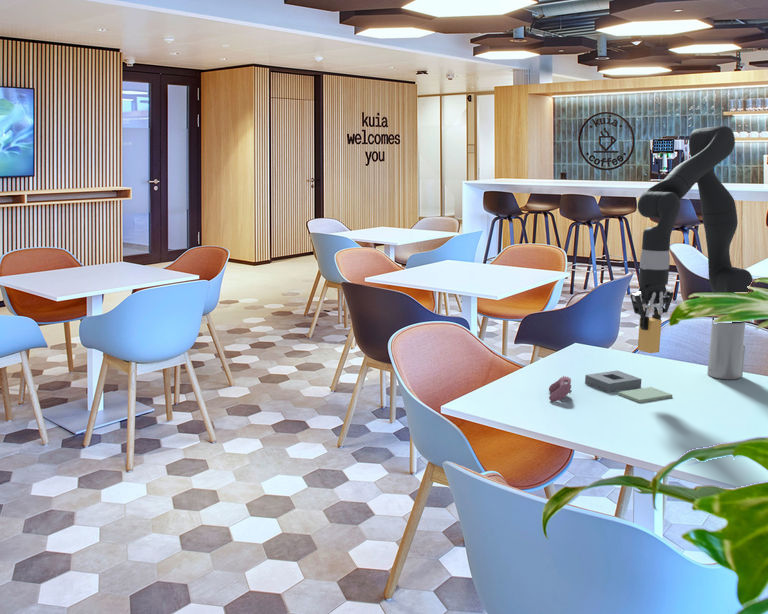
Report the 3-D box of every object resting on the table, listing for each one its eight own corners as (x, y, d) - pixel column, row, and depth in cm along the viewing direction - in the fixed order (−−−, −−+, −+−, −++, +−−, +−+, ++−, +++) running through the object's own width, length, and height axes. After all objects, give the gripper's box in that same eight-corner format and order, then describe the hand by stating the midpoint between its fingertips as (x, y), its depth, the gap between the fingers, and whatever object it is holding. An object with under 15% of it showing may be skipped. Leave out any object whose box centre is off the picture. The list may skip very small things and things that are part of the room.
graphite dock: (616, 378, 235) (617, 370, 235) (640, 387, 226) (641, 378, 226) (585, 383, 230) (585, 374, 230) (608, 392, 221) (608, 383, 221)
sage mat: (651, 389, 224) (651, 386, 224) (672, 397, 217) (672, 394, 217) (618, 394, 219) (618, 391, 219) (638, 402, 212) (639, 399, 212)
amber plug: (646, 348, 218) (649, 316, 217) (659, 352, 214) (661, 319, 213) (637, 349, 217) (639, 317, 215) (649, 353, 213) (652, 321, 211)
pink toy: (562, 408, 212) (575, 386, 210) (547, 400, 212) (560, 378, 210) (561, 397, 221) (574, 376, 220) (547, 389, 222) (559, 368, 220)
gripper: (663, 263, 218) (659, 324, 221) (624, 266, 212) (620, 328, 215) (684, 266, 211) (679, 329, 214) (644, 269, 205) (639, 334, 208)
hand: (649, 328), depth 214 cm, fingers closed on amber plug, 3 cm apart
